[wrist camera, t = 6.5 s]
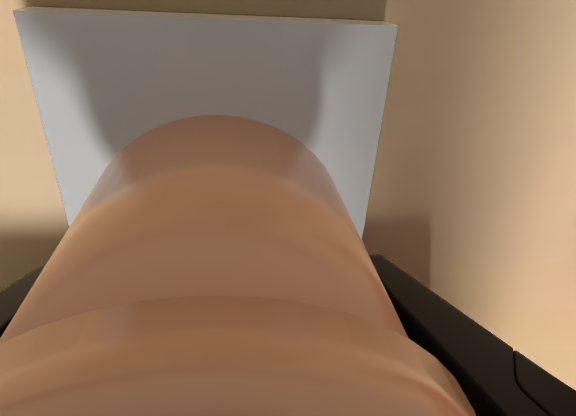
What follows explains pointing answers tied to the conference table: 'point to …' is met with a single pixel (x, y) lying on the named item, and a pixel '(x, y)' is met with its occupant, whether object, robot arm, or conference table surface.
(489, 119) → the conference table surface
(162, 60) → the grey tile
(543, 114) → the conference table surface
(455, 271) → the conference table surface
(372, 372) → the peach round piece
